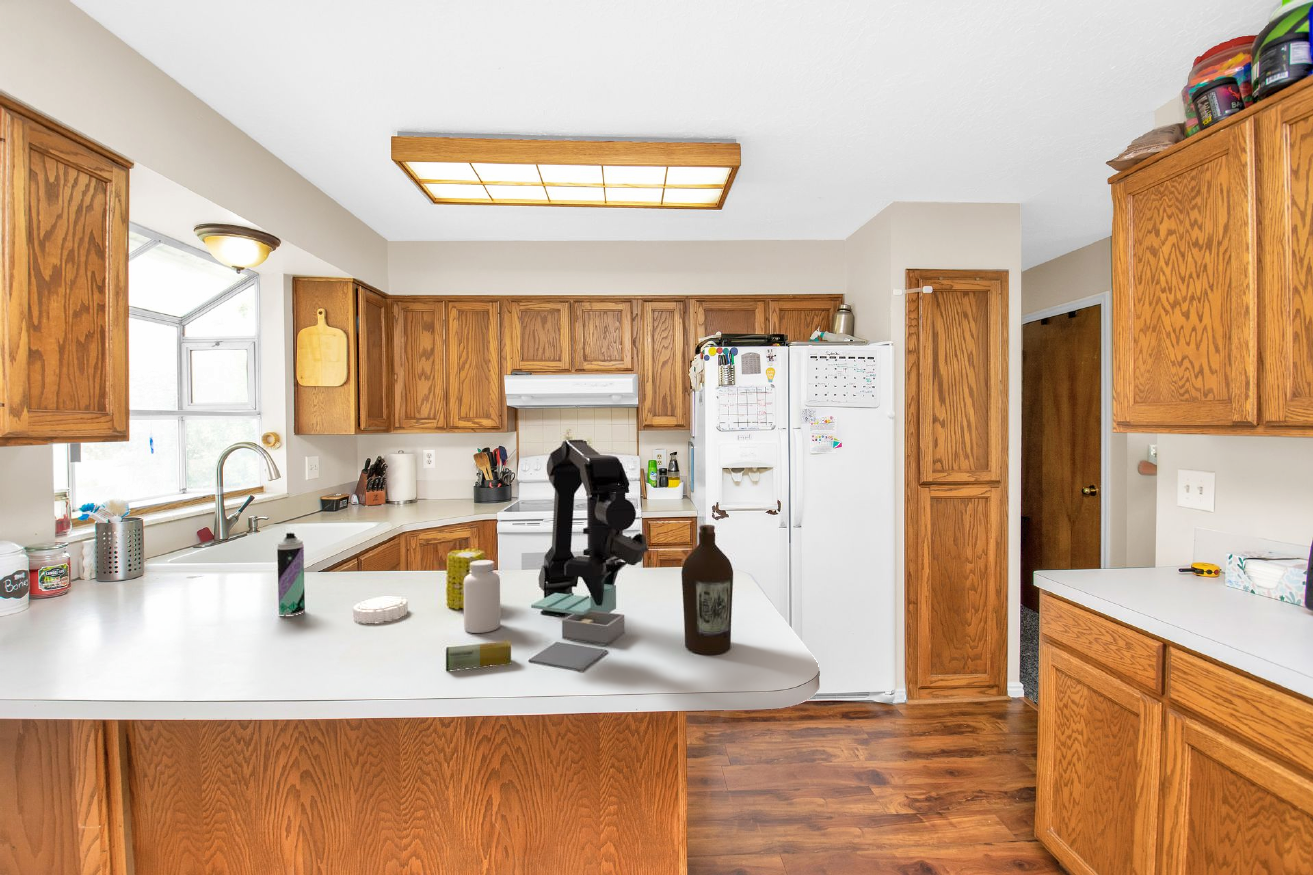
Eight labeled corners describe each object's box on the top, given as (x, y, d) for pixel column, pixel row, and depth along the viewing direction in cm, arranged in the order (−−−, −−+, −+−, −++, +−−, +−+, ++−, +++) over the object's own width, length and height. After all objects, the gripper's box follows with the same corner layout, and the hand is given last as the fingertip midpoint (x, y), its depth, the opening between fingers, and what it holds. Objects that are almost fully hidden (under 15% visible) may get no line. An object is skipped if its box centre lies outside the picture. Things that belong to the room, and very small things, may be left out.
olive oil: (676, 639, 123) (675, 522, 123) (723, 635, 126) (722, 520, 125) (690, 659, 113) (689, 531, 112) (741, 653, 115) (740, 529, 115)
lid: (531, 610, 113) (530, 584, 113) (555, 598, 121) (555, 574, 121) (602, 620, 107) (601, 593, 107) (622, 607, 115) (622, 581, 115)
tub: (562, 638, 125) (562, 619, 125) (581, 626, 132) (580, 608, 132) (607, 645, 120) (607, 626, 120) (624, 632, 128) (624, 614, 128)
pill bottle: (507, 624, 134) (507, 560, 133) (483, 636, 126) (482, 567, 126) (481, 620, 137) (480, 557, 137) (456, 631, 130) (455, 564, 129)
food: (475, 603, 155) (487, 615, 147) (431, 600, 149) (440, 613, 140) (488, 547, 156) (501, 555, 148) (444, 542, 150) (455, 551, 141)
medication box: (445, 673, 108) (444, 652, 108) (446, 667, 111) (445, 646, 110) (511, 665, 112) (511, 644, 111) (510, 659, 114) (510, 639, 114)
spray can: (273, 615, 141) (271, 534, 141) (294, 608, 147) (293, 530, 146) (288, 618, 139) (287, 535, 139) (310, 611, 144) (308, 531, 144)
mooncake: (360, 628, 132) (360, 613, 132) (347, 615, 142) (347, 601, 141) (414, 616, 140) (414, 602, 140) (399, 605, 149) (398, 591, 149)
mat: (528, 661, 112) (528, 659, 112) (556, 643, 122) (556, 641, 122) (582, 671, 108) (582, 669, 108) (607, 651, 117) (607, 649, 117)
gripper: (618, 533, 99) (618, 623, 100) (659, 517, 117) (660, 593, 117) (562, 529, 104) (563, 615, 104) (610, 514, 121) (611, 588, 121)
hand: (603, 602), depth 112 cm, fingers closed on lid, 3 cm apart
